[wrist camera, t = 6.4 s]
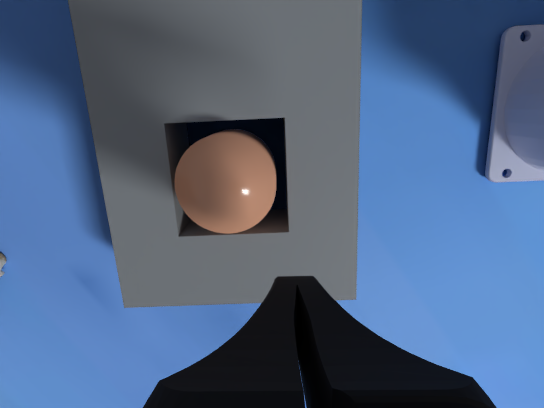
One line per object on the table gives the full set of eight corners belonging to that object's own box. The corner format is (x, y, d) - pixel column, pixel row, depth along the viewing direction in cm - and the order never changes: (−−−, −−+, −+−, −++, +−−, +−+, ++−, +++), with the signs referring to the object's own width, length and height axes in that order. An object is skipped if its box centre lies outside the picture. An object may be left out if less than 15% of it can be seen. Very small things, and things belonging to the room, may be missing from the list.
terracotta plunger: (274, 126, 18) (273, 131, 14) (278, 209, 19) (278, 231, 16) (188, 130, 18) (168, 136, 14) (197, 212, 19) (180, 235, 16)
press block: (346, -301, 15) (370, -445, 11) (341, 265, 22) (356, 299, 18) (65, -278, 15) (-8, -412, 11) (151, 272, 22) (124, 307, 18)
